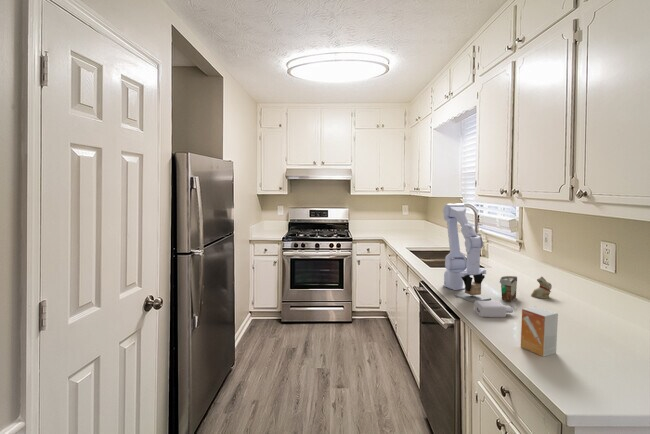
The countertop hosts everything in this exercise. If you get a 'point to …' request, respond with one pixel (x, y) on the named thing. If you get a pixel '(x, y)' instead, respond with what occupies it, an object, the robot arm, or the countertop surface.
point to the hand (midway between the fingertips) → (472, 290)
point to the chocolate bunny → (542, 289)
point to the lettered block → (474, 289)
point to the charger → (492, 309)
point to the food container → (508, 288)
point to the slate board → (472, 297)
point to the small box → (539, 331)
